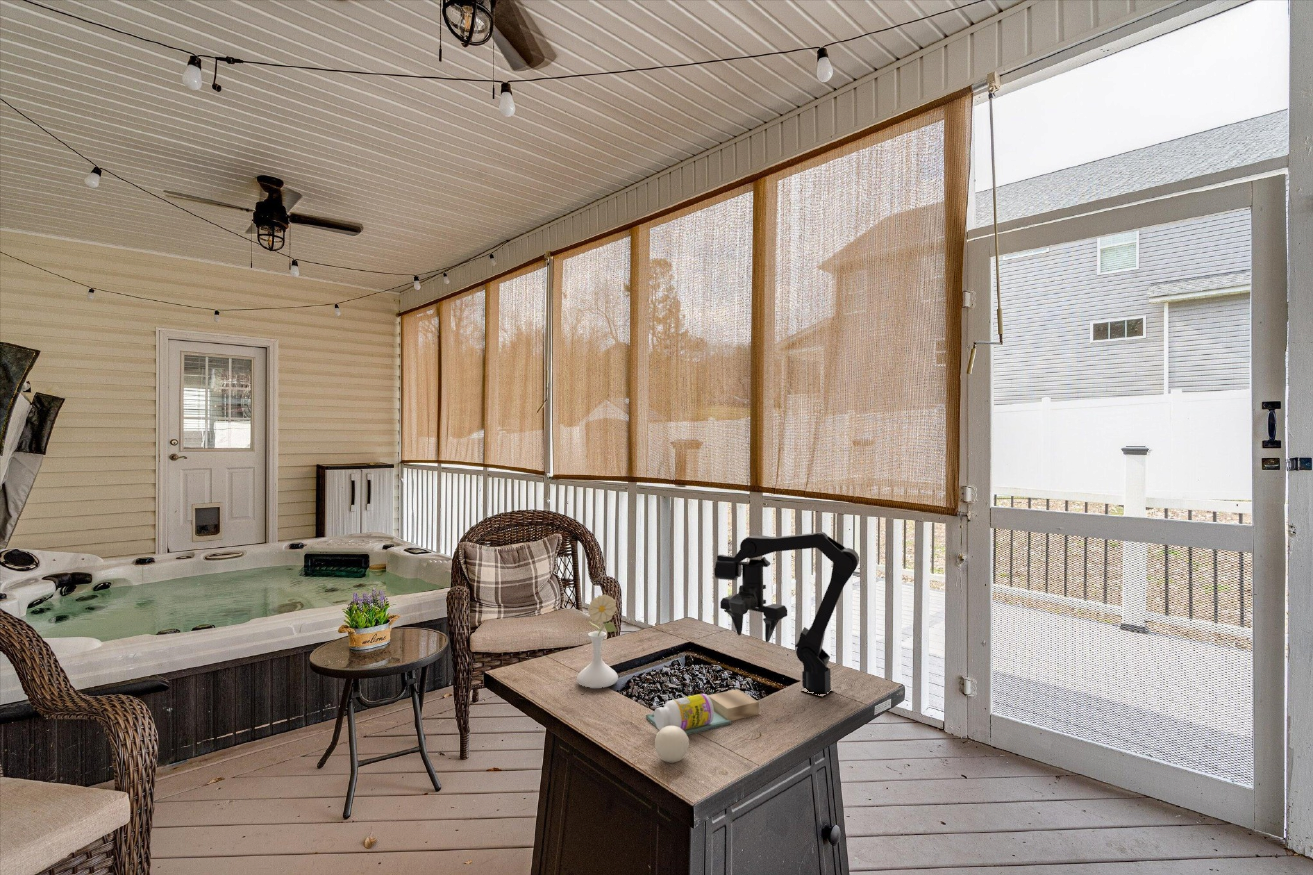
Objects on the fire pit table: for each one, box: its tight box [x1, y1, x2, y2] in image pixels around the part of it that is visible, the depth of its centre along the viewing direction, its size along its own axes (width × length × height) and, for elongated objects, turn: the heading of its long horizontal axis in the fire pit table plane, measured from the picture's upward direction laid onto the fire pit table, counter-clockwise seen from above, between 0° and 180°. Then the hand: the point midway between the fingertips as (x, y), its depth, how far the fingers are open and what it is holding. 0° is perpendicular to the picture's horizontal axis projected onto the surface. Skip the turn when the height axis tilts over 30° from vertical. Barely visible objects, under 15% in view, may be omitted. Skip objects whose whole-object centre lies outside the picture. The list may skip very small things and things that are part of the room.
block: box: [706, 688, 760, 722], centre depth 151 cm, size 9×9×3 cm
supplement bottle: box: [653, 693, 714, 731], centre depth 140 cm, size 7×7×13 cm
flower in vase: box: [576, 593, 619, 689], centre depth 168 cm, size 13×11×25 cm
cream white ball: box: [654, 726, 690, 763], centre depth 127 cm, size 7×7×7 cm
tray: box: [645, 712, 731, 736], centre depth 145 cm, size 16×12×1 cm
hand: (753, 638), depth 169 cm, fingers open, 9 cm apart
